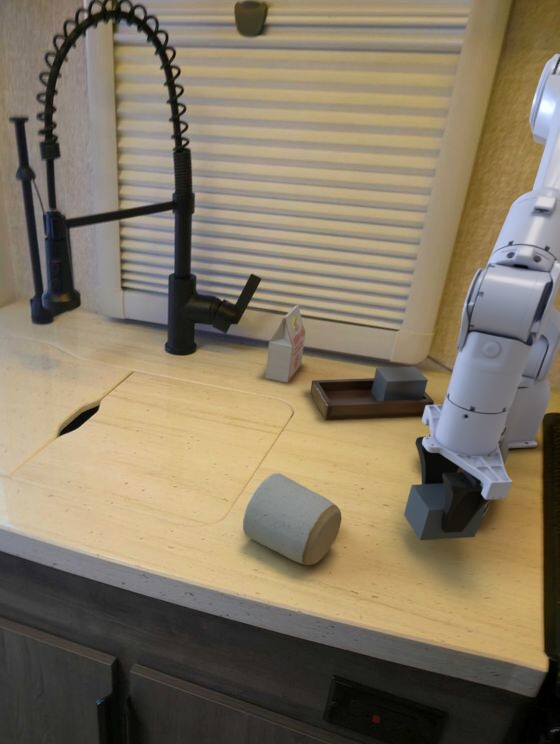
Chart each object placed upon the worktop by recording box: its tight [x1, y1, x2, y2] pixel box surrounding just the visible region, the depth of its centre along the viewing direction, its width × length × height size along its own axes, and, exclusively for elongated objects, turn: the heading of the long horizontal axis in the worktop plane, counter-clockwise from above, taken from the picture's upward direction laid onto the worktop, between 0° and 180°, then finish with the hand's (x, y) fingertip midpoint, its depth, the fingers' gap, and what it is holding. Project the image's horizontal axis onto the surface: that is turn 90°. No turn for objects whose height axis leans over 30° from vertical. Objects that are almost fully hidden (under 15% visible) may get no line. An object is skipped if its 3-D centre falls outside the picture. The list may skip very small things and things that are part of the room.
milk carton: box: [265, 304, 307, 384], centre depth 104 cm, size 4×7×10 cm, turn 154°
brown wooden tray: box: [309, 366, 435, 421], centre depth 97 cm, size 16×8×5 cm, turn 96°
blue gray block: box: [403, 483, 485, 541], centre depth 70 cm, size 6×4×4 cm
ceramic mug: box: [242, 472, 342, 566], centre depth 70 cm, size 11×8×8 cm
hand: (441, 514), depth 70 cm, fingers closed on blue gray block, 4 cm apart
